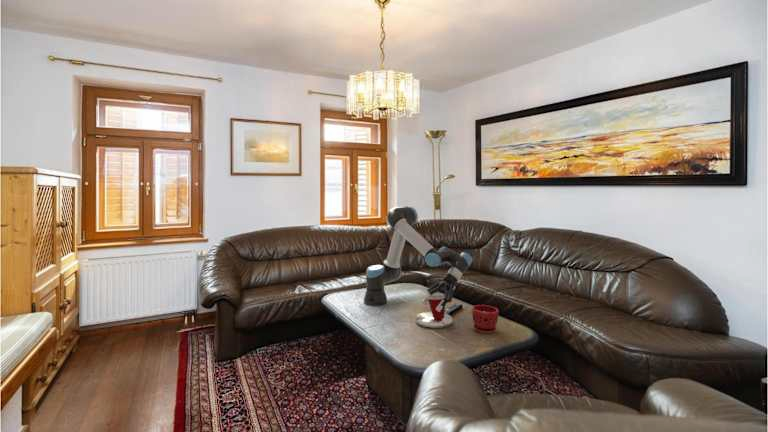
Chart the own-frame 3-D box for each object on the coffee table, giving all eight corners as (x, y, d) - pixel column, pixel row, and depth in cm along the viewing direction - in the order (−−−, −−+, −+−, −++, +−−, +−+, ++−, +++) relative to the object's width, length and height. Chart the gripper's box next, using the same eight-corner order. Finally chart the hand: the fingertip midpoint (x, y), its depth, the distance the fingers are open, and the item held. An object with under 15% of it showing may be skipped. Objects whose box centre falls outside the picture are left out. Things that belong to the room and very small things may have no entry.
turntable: (409, 318, 209) (409, 315, 209) (438, 312, 218) (438, 309, 218) (428, 330, 191) (428, 327, 191) (459, 323, 200) (459, 320, 200)
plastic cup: (448, 319, 196) (445, 297, 197) (428, 321, 199) (425, 298, 199) (450, 315, 206) (447, 293, 207) (431, 316, 209) (428, 295, 210)
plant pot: (494, 337, 184) (494, 314, 183) (468, 332, 191) (468, 309, 190) (501, 328, 195) (501, 306, 194) (476, 324, 202) (476, 302, 201)
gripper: (470, 286, 199) (447, 318, 193) (443, 275, 221) (422, 304, 216) (463, 277, 196) (439, 309, 191) (436, 268, 218) (414, 296, 213)
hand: (430, 306), depth 203 cm, fingers open, 13 cm apart
